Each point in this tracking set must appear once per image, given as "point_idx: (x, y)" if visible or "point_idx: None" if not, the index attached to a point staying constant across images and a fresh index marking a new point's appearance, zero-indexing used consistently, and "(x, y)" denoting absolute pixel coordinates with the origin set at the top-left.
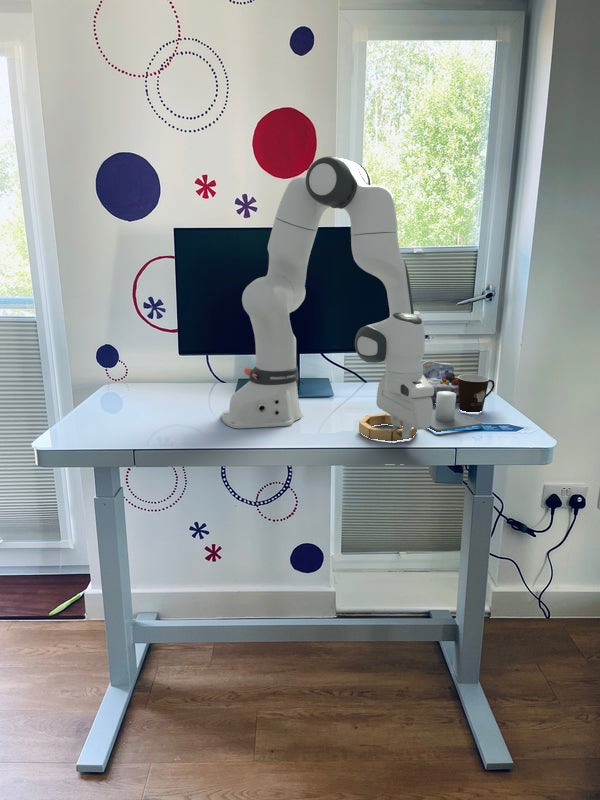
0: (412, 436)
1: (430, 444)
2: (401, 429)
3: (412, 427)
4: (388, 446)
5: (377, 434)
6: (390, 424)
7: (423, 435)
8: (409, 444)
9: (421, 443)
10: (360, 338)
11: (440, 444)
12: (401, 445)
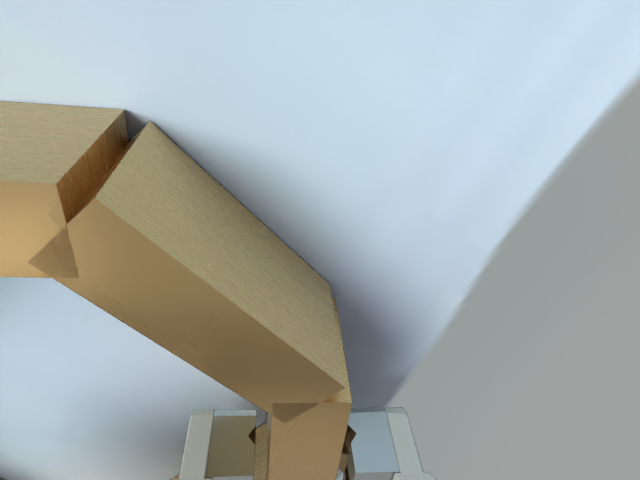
0: (332, 313)
1: (523, 191)
2: (293, 473)
3: (291, 370)
4: None
5: None
6: None
7: (238, 75)
8: (397, 345)
9: (442, 252)
10: None
11: (607, 87)
12: (379, 397)
